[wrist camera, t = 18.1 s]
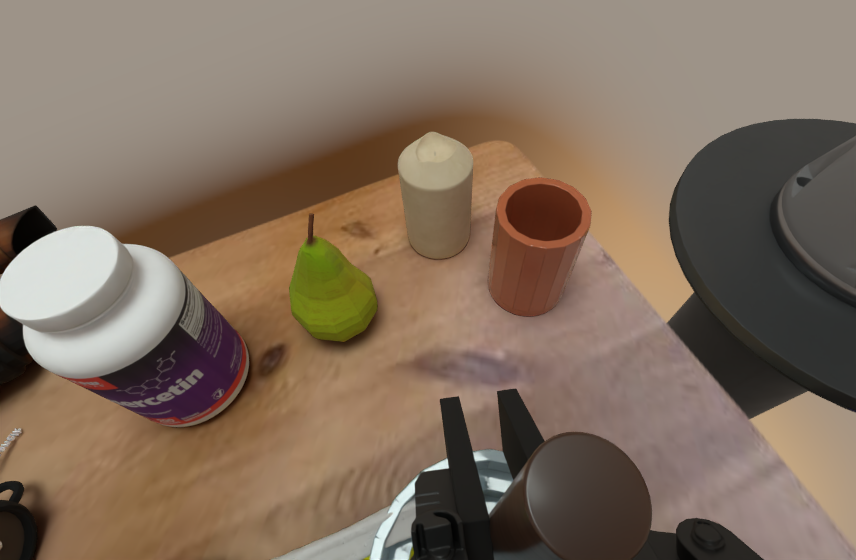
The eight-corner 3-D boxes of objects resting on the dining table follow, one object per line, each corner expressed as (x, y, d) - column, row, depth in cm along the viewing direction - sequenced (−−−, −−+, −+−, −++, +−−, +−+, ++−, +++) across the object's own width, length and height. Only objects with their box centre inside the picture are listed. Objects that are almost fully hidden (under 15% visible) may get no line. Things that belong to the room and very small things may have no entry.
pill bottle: (139, 443, 31) (-65, 366, 19) (152, 340, 35) (-8, 224, 23) (255, 415, 32) (131, 324, 19) (254, 318, 36) (151, 194, 24)
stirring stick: (508, 526, 25) (675, 416, 6) (515, 560, 24) (734, 552, 5) (455, 534, 24) (459, 446, 6) (459, 568, 24) (481, 589, 5)
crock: (551, 250, 38) (574, 172, 30) (571, 311, 35) (604, 241, 27) (482, 259, 38) (488, 183, 30) (496, 321, 35) (508, 253, 27)
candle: (405, 215, 41) (392, 125, 32) (464, 207, 41) (466, 116, 33) (411, 263, 38) (398, 178, 29) (474, 255, 38) (480, 168, 30)
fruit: (288, 338, 35) (219, 246, 25) (326, 276, 38) (279, 171, 28) (360, 365, 33) (319, 279, 23) (394, 298, 36) (371, 196, 26)
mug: (-116, 653, 24) (18, 652, 24) (-223, 615, 20) (-65, 613, 20) (38, 452, 34) (134, 449, 33) (-15, 400, 30) (93, 397, 30)
